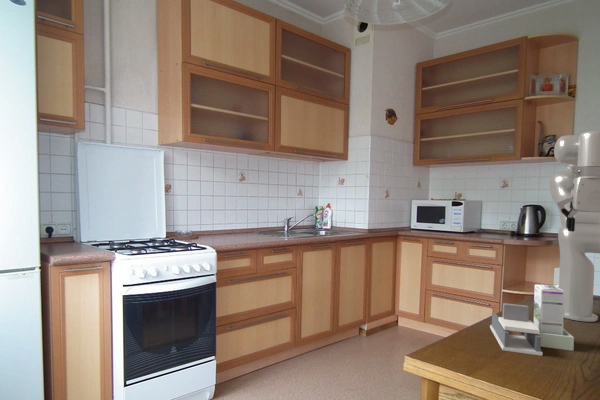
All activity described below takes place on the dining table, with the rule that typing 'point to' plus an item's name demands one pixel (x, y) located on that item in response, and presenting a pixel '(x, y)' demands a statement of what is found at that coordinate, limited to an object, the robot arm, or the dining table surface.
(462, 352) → the dining table surface
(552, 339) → the socket
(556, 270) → the skincare box
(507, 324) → the cover
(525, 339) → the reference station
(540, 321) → the syrup box
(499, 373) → the dining table surface
